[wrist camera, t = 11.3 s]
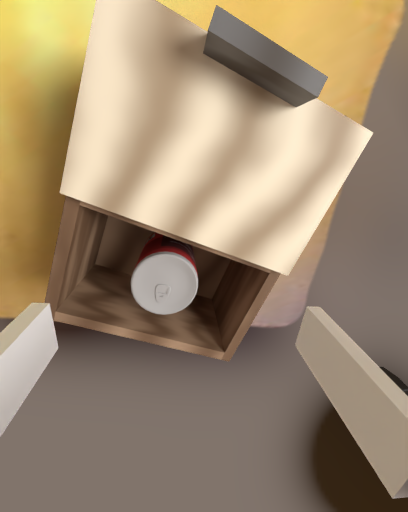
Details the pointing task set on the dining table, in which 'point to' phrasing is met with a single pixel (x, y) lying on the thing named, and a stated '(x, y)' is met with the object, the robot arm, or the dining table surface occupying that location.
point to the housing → (120, 295)
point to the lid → (206, 133)
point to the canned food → (165, 275)
